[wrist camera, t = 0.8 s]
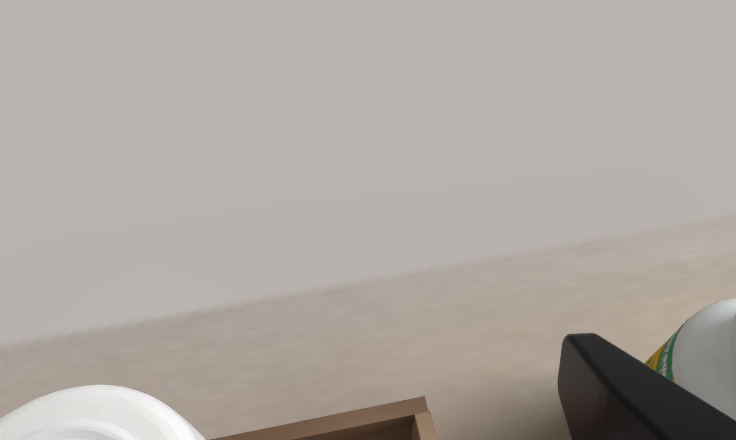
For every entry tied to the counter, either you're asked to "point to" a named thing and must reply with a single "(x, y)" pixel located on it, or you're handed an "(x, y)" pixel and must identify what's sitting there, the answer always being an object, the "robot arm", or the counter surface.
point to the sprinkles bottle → (96, 417)
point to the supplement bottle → (704, 356)
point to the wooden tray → (357, 425)
